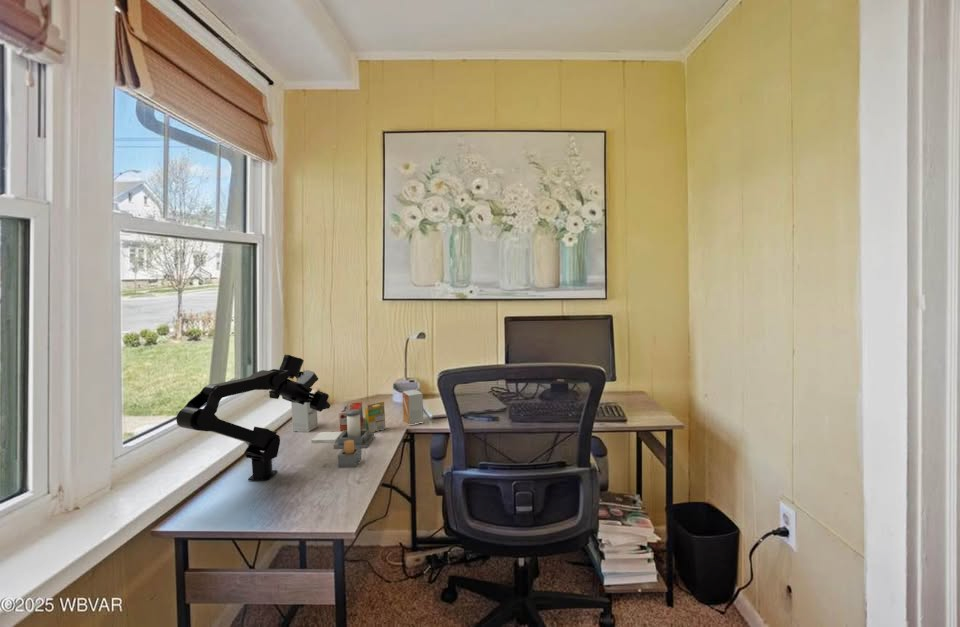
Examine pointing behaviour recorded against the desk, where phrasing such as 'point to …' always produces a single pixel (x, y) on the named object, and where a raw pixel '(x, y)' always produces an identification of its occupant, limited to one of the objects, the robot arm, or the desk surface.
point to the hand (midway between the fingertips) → (320, 403)
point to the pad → (326, 437)
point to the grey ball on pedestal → (353, 423)
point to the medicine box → (344, 417)
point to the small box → (412, 406)
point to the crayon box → (375, 417)
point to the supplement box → (303, 417)
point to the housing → (355, 439)
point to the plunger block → (349, 458)
